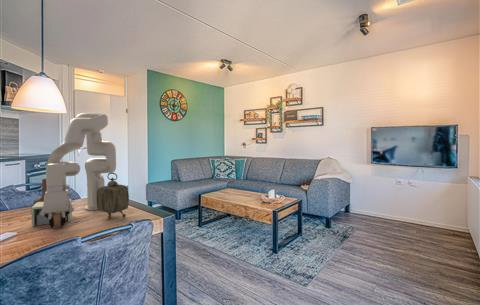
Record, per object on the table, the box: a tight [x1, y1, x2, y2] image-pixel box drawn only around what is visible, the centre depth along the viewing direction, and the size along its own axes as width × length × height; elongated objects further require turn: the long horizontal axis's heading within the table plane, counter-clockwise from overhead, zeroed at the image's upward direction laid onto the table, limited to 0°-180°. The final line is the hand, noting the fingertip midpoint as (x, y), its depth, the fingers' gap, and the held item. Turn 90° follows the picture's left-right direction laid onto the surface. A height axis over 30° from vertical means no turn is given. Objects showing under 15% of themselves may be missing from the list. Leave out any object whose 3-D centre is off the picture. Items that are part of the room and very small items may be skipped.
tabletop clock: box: [97, 172, 130, 220], centre depth 132 cm, size 14×9×25 cm, turn 71°
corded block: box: [52, 211, 68, 230], centre depth 122 cm, size 5×17×7 cm, turn 30°
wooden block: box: [33, 177, 47, 206], centre depth 156 cm, size 9×4×18 cm, turn 120°
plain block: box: [36, 213, 49, 226], centre depth 124 cm, size 5×5×5 cm
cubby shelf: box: [31, 198, 73, 228], centre depth 127 cm, size 15×12×10 cm
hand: (57, 225), depth 116 cm, fingers closed on corded block, 3 cm apart
